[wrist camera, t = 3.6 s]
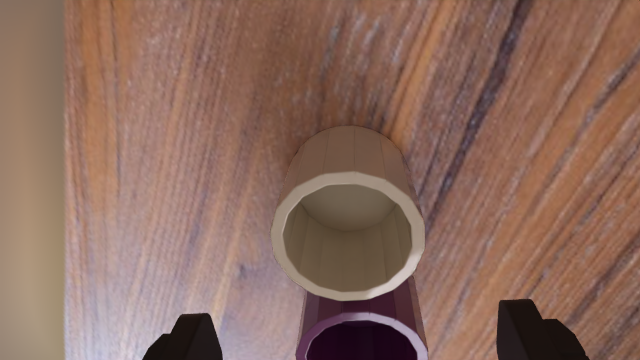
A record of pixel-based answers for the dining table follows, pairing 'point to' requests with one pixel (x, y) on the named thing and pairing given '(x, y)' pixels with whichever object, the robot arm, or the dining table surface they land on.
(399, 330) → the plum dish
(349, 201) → the cream dish
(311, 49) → the dining table surface
